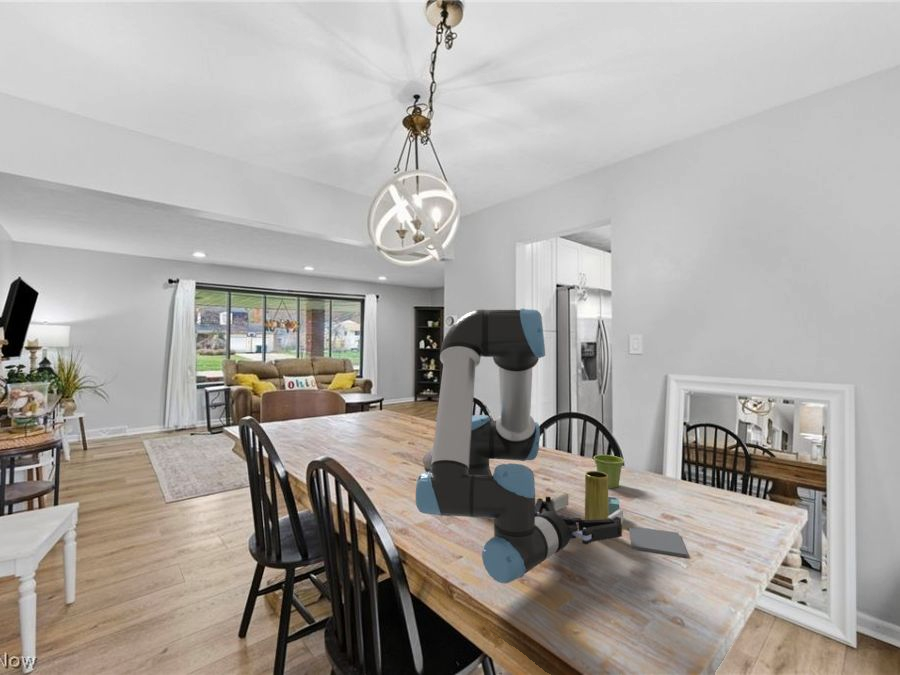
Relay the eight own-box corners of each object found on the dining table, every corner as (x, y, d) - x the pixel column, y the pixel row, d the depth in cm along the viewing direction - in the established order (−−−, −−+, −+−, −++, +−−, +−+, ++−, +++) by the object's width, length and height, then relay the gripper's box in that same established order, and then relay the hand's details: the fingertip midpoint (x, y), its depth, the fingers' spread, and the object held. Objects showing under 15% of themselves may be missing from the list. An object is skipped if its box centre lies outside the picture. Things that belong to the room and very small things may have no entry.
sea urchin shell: (417, 466, 156) (417, 444, 156) (448, 461, 162) (448, 441, 162) (432, 475, 144) (432, 452, 144) (465, 470, 150) (465, 448, 150)
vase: (609, 529, 102) (609, 471, 102) (610, 540, 96) (610, 479, 96) (584, 525, 104) (583, 469, 104) (583, 536, 98) (583, 476, 98)
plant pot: (619, 480, 138) (618, 455, 139) (628, 490, 129) (628, 463, 129) (590, 479, 139) (590, 454, 140) (597, 489, 130) (597, 462, 130)
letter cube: (598, 521, 107) (598, 501, 107) (598, 513, 111) (598, 494, 112) (619, 524, 105) (619, 503, 105) (618, 516, 110) (618, 497, 110)
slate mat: (632, 548, 92) (632, 545, 92) (628, 528, 102) (628, 525, 102) (687, 557, 88) (687, 554, 88) (678, 535, 99) (678, 532, 99)
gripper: (495, 533, 91) (547, 507, 106) (603, 579, 74) (647, 540, 88) (495, 500, 92) (547, 478, 106) (603, 537, 74) (647, 505, 89)
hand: (593, 506), depth 97 cm, fingers open, 13 cm apart
